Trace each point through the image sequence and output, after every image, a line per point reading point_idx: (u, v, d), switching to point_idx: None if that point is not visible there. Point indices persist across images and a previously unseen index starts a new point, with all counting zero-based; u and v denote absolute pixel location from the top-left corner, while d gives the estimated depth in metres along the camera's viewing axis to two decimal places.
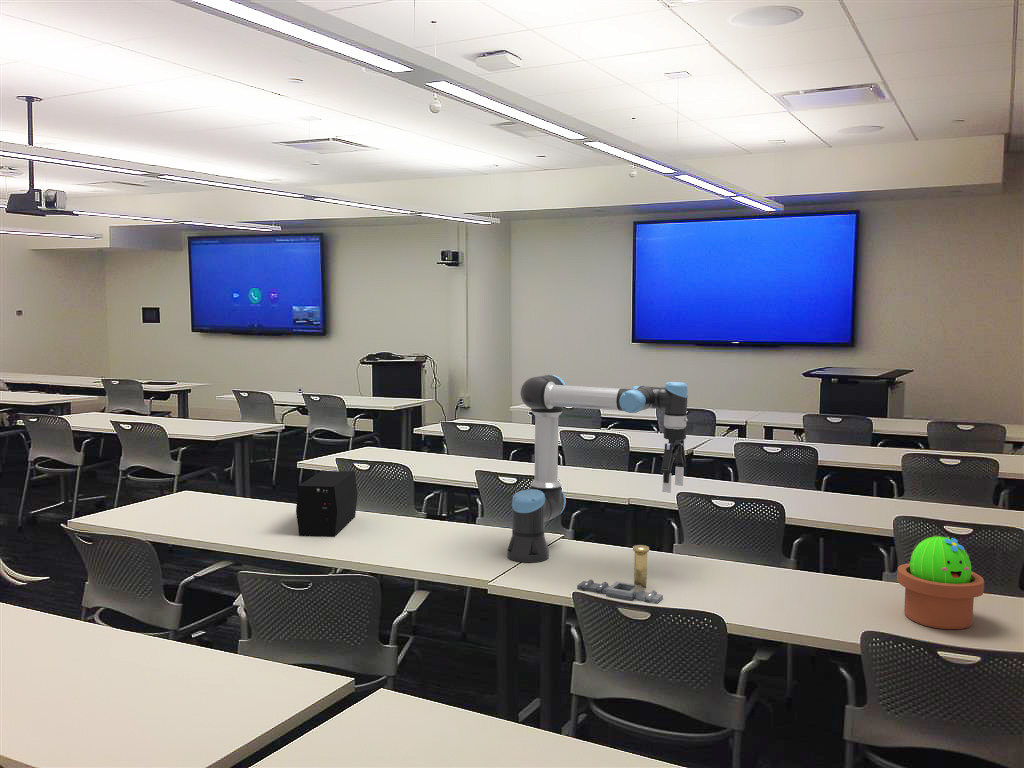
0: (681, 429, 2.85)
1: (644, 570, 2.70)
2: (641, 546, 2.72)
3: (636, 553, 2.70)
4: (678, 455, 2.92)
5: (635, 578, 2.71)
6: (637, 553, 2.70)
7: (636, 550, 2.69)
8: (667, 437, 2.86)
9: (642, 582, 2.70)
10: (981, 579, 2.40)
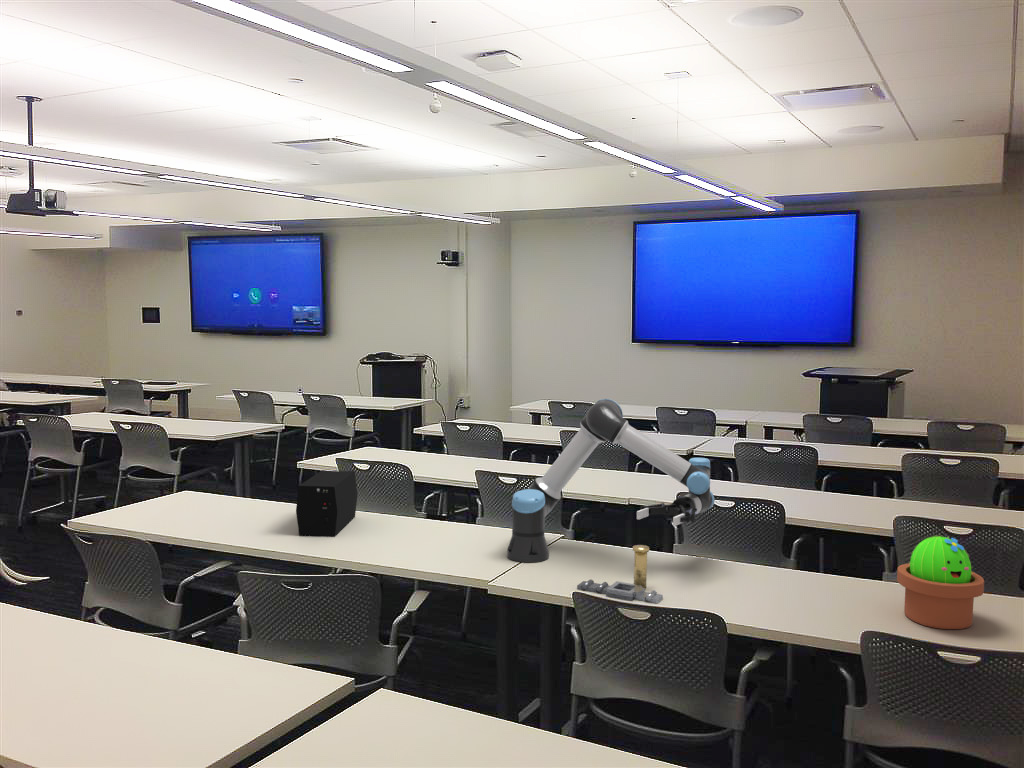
0: None
1: (644, 570, 2.70)
2: (641, 546, 2.72)
3: (636, 553, 2.70)
4: (662, 511, 2.89)
5: (635, 578, 2.71)
6: (637, 553, 2.70)
7: (636, 550, 2.69)
8: (690, 505, 2.89)
9: (642, 582, 2.70)
10: (981, 579, 2.40)
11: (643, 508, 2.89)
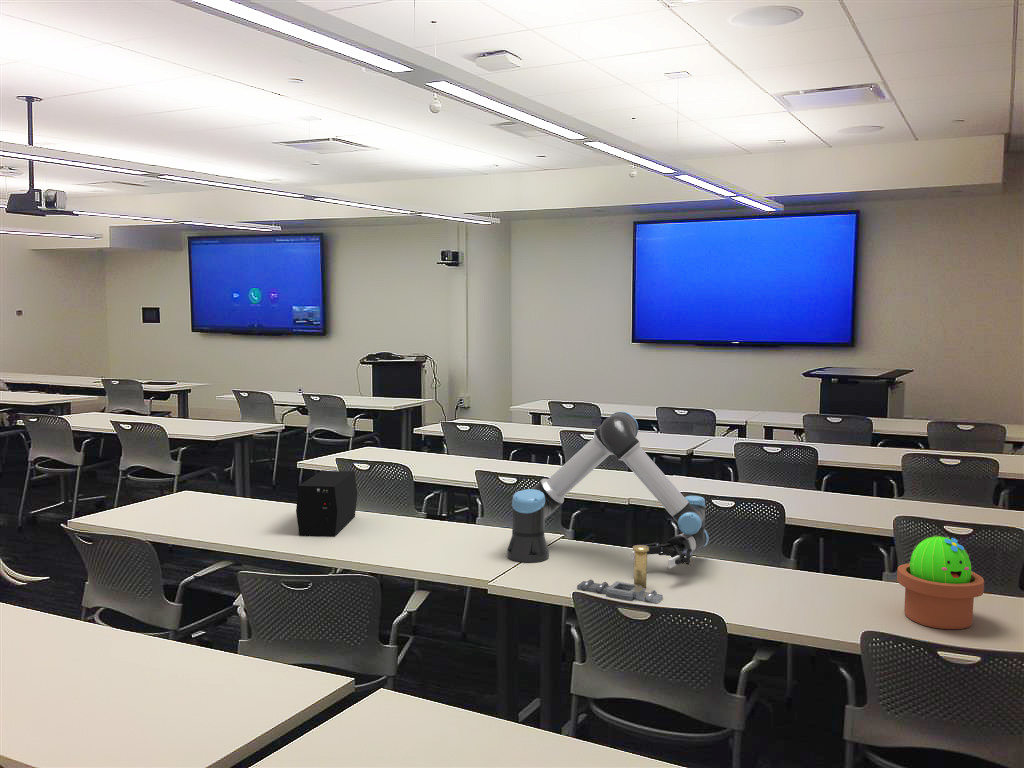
0: None
1: (644, 570, 2.70)
2: (641, 546, 2.72)
3: (636, 553, 2.70)
4: (657, 551, 2.86)
5: (635, 578, 2.71)
6: (637, 553, 2.70)
7: (636, 550, 2.69)
8: (685, 545, 2.87)
9: (642, 582, 2.70)
10: (981, 579, 2.40)
11: None
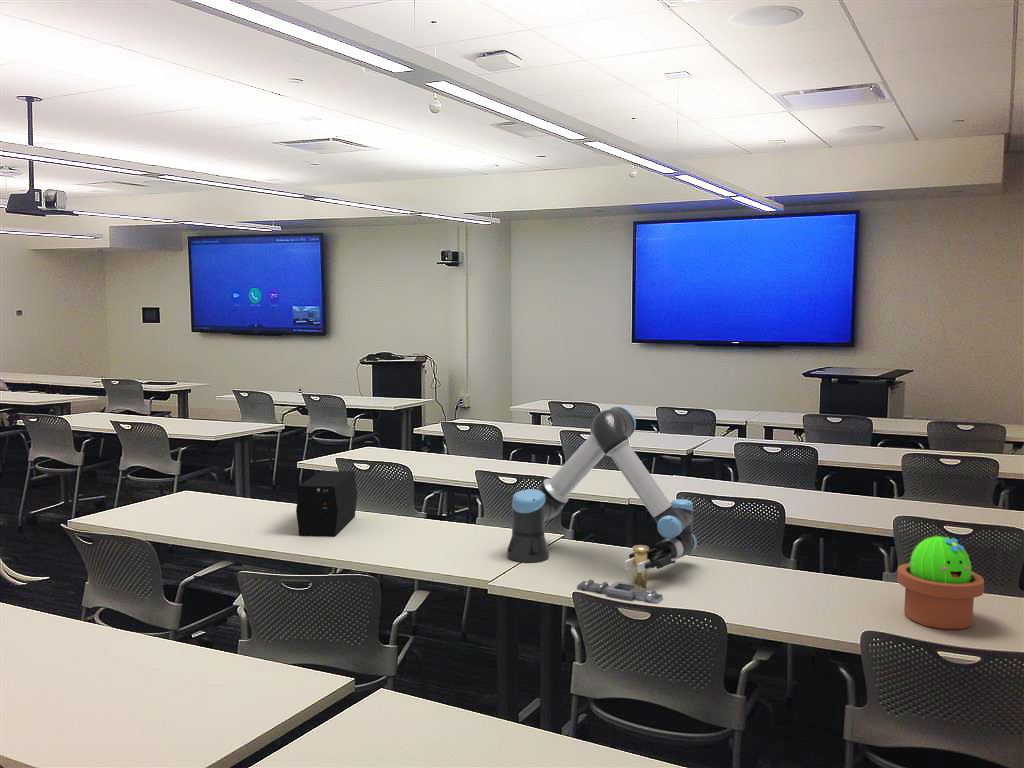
0: None
1: (644, 570, 2.70)
2: (641, 546, 2.72)
3: (636, 553, 2.70)
4: (647, 558, 2.78)
5: (635, 578, 2.71)
6: (637, 553, 2.70)
7: (636, 550, 2.69)
8: (672, 550, 2.81)
9: (642, 582, 2.70)
10: (981, 579, 2.40)
11: (632, 556, 2.76)
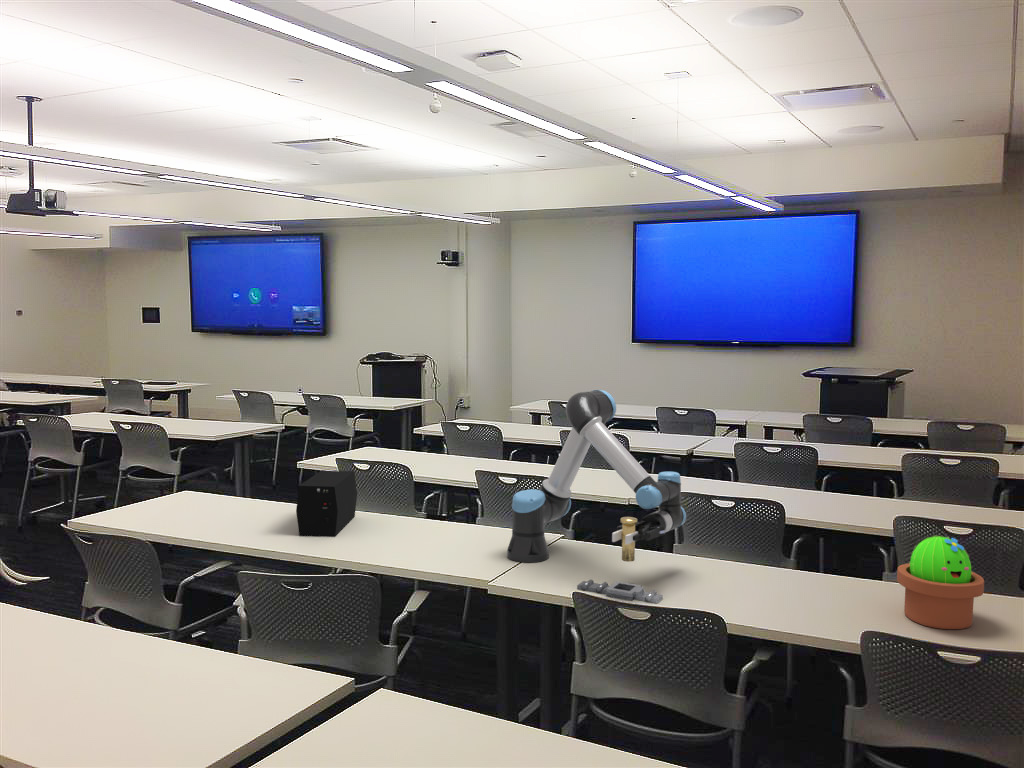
0: None
1: (632, 542, 2.62)
2: (629, 518, 2.64)
3: (624, 525, 2.62)
4: (635, 531, 2.70)
5: (623, 551, 2.63)
6: (625, 525, 2.62)
7: (624, 522, 2.61)
8: (660, 523, 2.73)
9: (630, 555, 2.62)
10: (981, 579, 2.40)
11: (620, 529, 2.68)
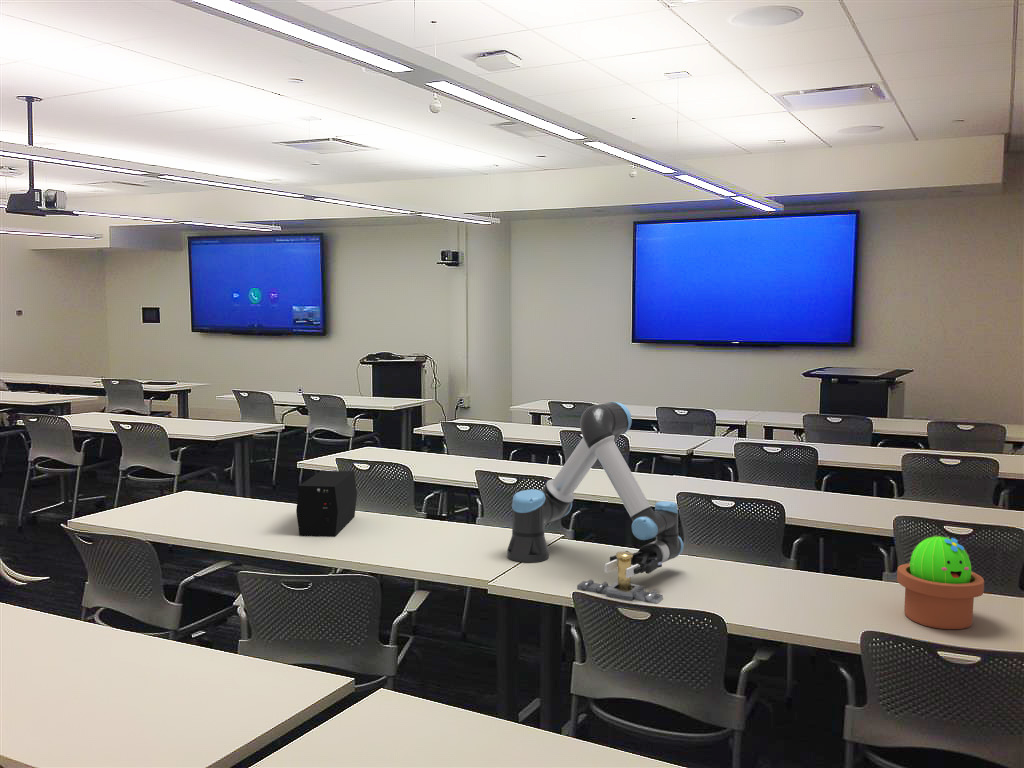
0: None
1: None
2: (625, 553, 2.64)
3: (619, 560, 2.62)
4: None
5: (619, 586, 2.63)
6: (620, 560, 2.62)
7: (619, 557, 2.62)
8: (657, 554, 2.73)
9: (626, 590, 2.62)
10: (981, 579, 2.40)
11: (613, 559, 2.69)
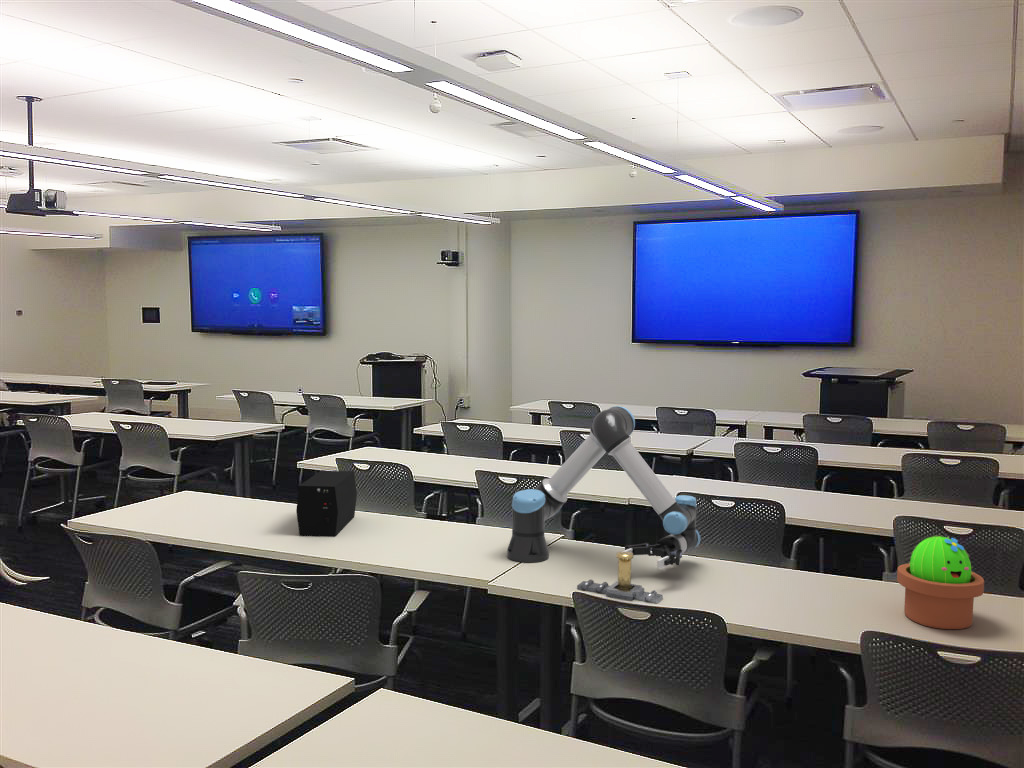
0: None
1: (628, 577, 2.62)
2: (625, 553, 2.64)
3: (620, 560, 2.62)
4: (646, 552, 2.81)
5: (619, 586, 2.63)
6: (621, 560, 2.62)
7: (620, 557, 2.62)
8: (675, 546, 2.82)
9: (626, 590, 2.62)
10: (981, 579, 2.40)
11: (627, 548, 2.82)
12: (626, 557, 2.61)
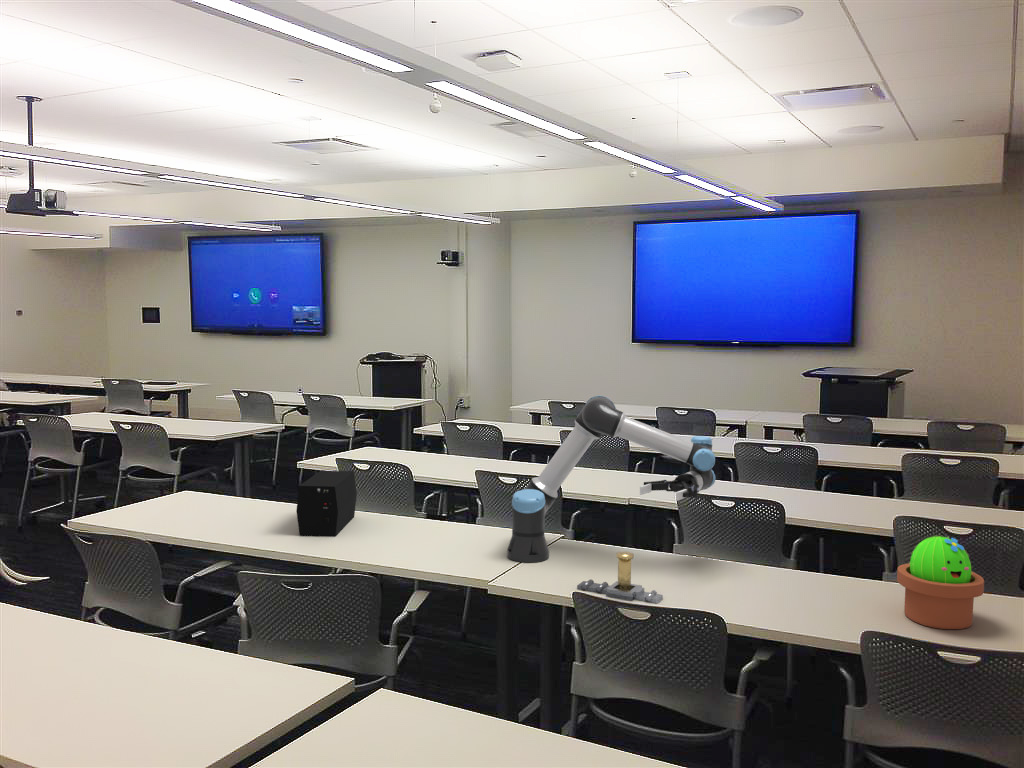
0: None
1: (628, 577, 2.62)
2: (625, 553, 2.64)
3: (620, 560, 2.62)
4: (664, 487, 2.93)
5: (619, 586, 2.63)
6: (621, 560, 2.62)
7: (620, 557, 2.62)
8: (692, 482, 2.93)
9: (626, 590, 2.62)
10: (981, 579, 2.40)
11: (646, 484, 2.93)
12: (626, 557, 2.61)
